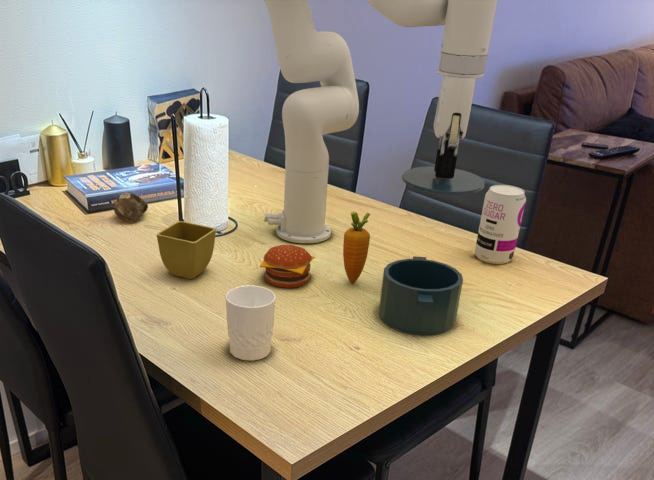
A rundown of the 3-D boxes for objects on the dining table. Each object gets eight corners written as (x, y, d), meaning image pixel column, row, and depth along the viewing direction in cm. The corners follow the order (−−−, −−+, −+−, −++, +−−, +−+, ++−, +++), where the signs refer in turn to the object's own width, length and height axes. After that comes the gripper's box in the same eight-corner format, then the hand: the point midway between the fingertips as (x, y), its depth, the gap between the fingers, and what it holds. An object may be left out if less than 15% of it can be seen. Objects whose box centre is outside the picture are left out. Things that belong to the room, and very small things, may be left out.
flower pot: (218, 269, 141) (217, 227, 136) (196, 286, 134) (194, 242, 129) (180, 261, 144) (179, 220, 139) (157, 277, 137) (155, 234, 132)
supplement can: (513, 253, 152) (528, 186, 144) (511, 267, 145) (527, 198, 137) (475, 248, 154) (488, 182, 146) (472, 261, 147) (485, 193, 140)
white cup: (225, 339, 117) (224, 285, 111) (271, 338, 117) (273, 284, 112) (226, 363, 110) (226, 307, 105) (275, 362, 110) (277, 307, 105)
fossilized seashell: (126, 198, 170) (101, 216, 163) (133, 178, 165) (109, 197, 158) (150, 216, 170) (127, 236, 163) (158, 198, 165) (135, 217, 158)
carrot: (364, 279, 138) (372, 207, 131) (365, 290, 134) (373, 216, 126) (340, 277, 139) (346, 205, 131) (339, 288, 135) (345, 214, 127)
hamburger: (315, 272, 141) (317, 242, 137) (302, 292, 133) (304, 260, 129) (271, 265, 143) (272, 235, 139) (256, 284, 135) (257, 253, 132)
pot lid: (401, 194, 119) (406, 159, 116) (400, 170, 131) (405, 138, 128) (487, 201, 118) (495, 166, 114) (478, 176, 130) (485, 143, 127)
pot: (379, 339, 118) (384, 294, 113) (378, 291, 134) (383, 250, 129) (459, 346, 117) (468, 301, 112) (449, 296, 133) (457, 255, 128)
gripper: (436, 56, 121) (420, 161, 131) (441, 71, 107) (424, 187, 117) (479, 58, 120) (461, 163, 130) (490, 74, 107) (469, 190, 116)
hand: (443, 174), depth 123 cm, fingers closed on pot lid, 2 cm apart
